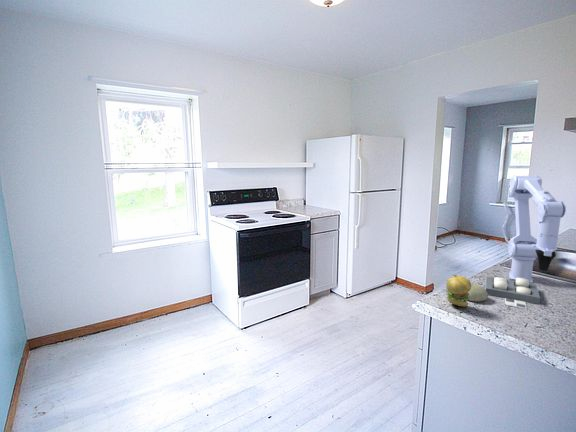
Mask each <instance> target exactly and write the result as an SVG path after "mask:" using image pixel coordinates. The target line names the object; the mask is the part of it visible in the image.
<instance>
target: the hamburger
mask: <svg viewBox="0 0 576 432" xmlns="http://www.w3.org/2000/svg"><path fill="white" fill-rule="evenodd" d="M471 284H472V282H471V281H470V280H469V279H468V278H467V277H466V276H462V275H461V276H460V275H457V274H452V277H450V278H448V280H447V281H446V292H447V293H446V300H447V301H448V302H449V303H450V304H452V305H454V306H458V307H461V308H466V307H468V306H469V302H467V301H469V300H468V299H469V298H468V295H469V293H468V291H470V289H471Z"/></svg>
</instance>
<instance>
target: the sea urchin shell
mask: <svg viewBox="0 0 576 432" xmlns="http://www.w3.org/2000/svg"><path fill="white" fill-rule="evenodd" d="M468 293H469V295H468V298H469V299H468V300H467V301H470V302H473V303H474V302H476V303H477V302H484V301H487V300H488V297H489V295H488V294H487V291H486V288H484V287H483V286H481V285H479V284H476V283H471V289H470V291H468Z"/></svg>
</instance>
